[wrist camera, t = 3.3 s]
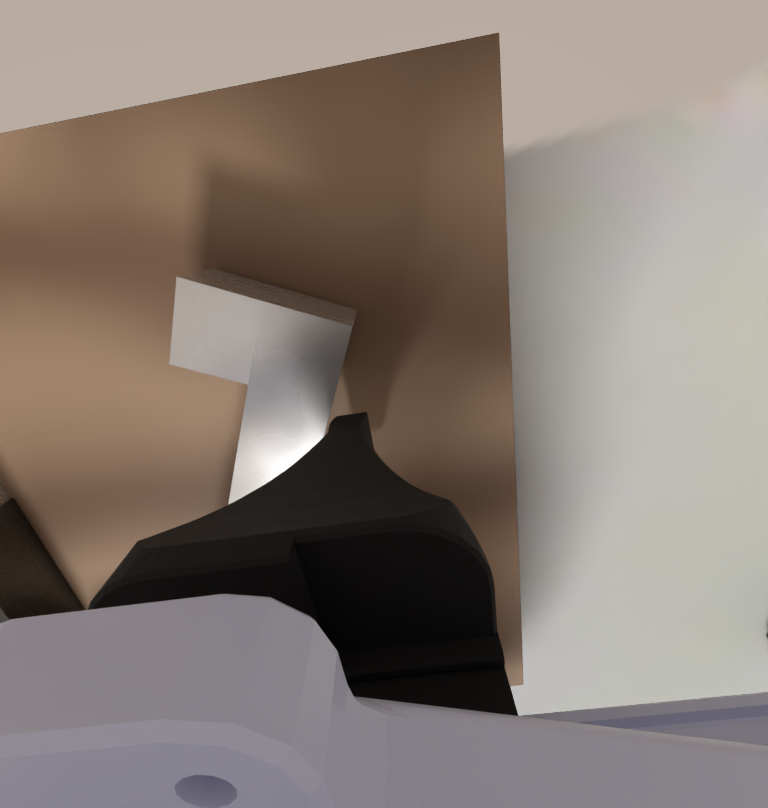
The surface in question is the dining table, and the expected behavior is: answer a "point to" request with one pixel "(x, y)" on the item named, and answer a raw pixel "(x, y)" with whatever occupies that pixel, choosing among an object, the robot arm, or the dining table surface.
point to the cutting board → (269, 263)
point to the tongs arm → (263, 363)
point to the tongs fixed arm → (28, 569)
